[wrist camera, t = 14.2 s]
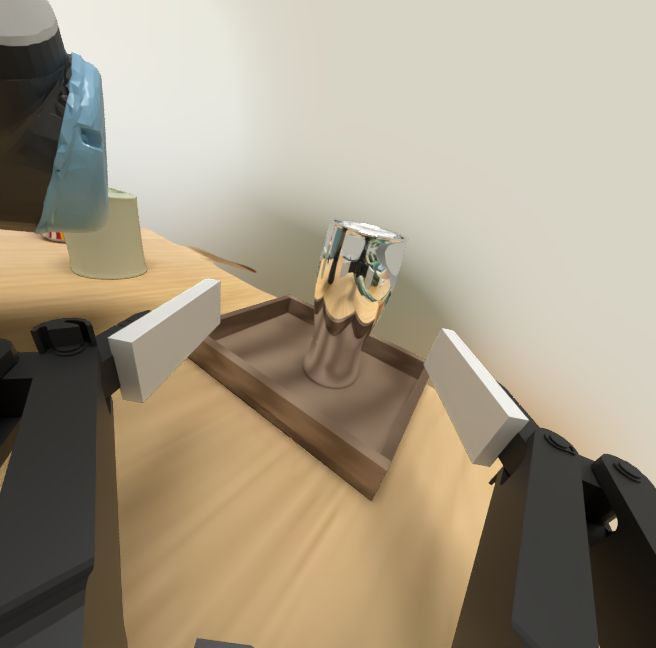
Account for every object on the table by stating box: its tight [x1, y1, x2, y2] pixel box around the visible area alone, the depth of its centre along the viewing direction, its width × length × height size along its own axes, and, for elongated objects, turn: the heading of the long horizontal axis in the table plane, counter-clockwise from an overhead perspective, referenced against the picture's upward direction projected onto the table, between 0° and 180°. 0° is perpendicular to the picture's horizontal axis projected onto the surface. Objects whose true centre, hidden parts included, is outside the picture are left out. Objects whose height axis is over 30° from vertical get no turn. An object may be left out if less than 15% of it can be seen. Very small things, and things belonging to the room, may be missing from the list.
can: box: [63, 188, 147, 279], centre depth 37 cm, size 9×9×12 cm
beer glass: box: [303, 218, 408, 388], centre depth 24 cm, size 7×7×15 cm
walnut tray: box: [188, 295, 429, 500], centre depth 27 cm, size 22×16×4 cm
